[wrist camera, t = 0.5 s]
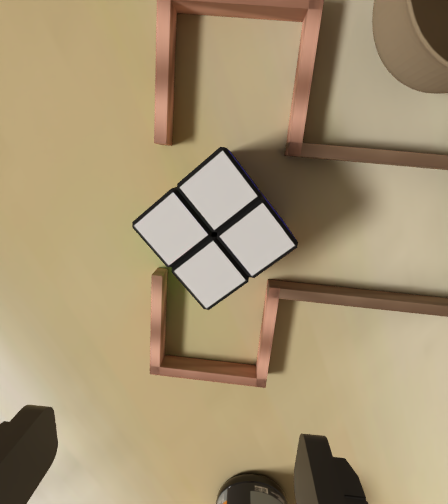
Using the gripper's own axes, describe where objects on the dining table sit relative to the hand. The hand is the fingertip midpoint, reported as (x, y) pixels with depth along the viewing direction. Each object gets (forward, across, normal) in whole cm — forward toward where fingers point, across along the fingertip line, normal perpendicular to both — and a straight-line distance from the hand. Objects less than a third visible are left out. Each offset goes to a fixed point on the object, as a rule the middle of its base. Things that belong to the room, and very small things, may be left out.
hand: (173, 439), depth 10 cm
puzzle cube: (+26, 0, -3) cm, 27 cm away
